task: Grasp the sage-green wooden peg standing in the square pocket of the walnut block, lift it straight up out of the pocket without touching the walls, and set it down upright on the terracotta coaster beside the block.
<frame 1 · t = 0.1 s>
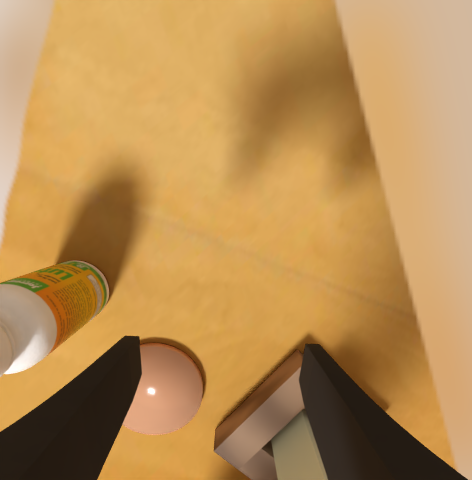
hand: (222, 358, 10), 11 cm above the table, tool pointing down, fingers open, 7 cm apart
peg: (311, 470, 19), in the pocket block
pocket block: (297, 425, 23), on the table
supplement bottle: (81, 288, 21), on the table
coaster: (155, 387, 22), on the table
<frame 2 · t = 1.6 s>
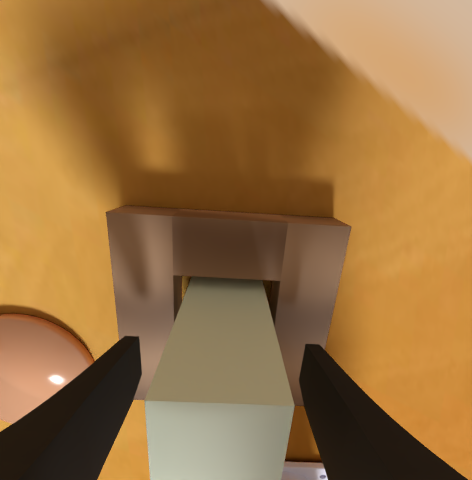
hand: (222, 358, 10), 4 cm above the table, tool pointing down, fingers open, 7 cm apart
peg: (223, 351, 11), in the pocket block
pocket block: (225, 302, 14), on the table
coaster: (30, 370, 16), on the table
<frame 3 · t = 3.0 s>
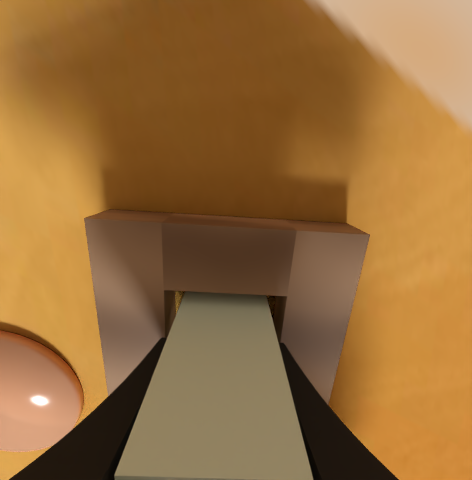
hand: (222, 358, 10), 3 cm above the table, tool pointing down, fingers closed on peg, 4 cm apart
peg: (220, 380, 9), in the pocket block, touching gripper
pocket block: (224, 317, 13), on the table
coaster: (8, 390, 14), on the table
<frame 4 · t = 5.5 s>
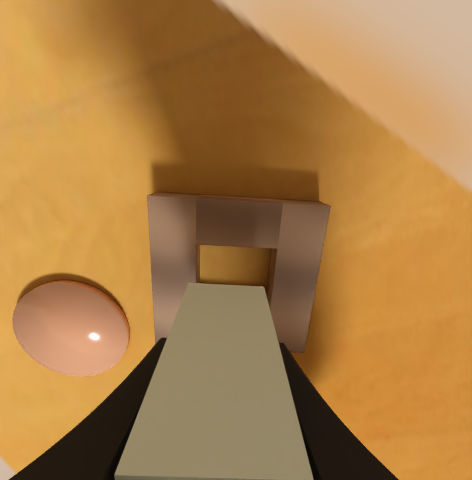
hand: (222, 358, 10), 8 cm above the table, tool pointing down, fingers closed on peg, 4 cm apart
peg: (221, 380, 9), point 10 cm above the table, touching gripper
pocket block: (234, 270, 18), on the table
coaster: (75, 328, 19), on the table
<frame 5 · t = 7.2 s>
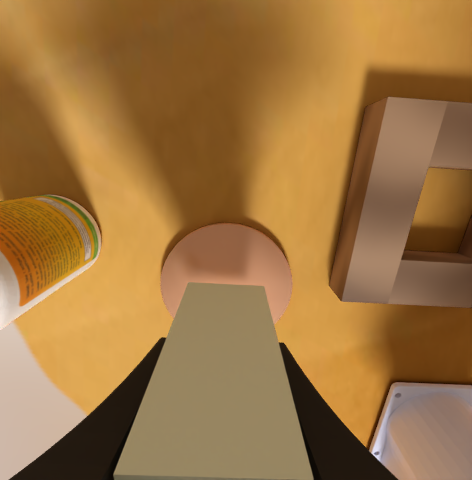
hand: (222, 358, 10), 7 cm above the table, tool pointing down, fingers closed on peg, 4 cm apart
peg: (220, 379, 9), point 8 cm above the table, touching gripper
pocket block: (431, 212, 15), on the table
supplement bottle: (64, 234, 16), on the table
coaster: (226, 284, 17), on the table
when the fingers open (5 cm above the table, at t = 8.4 s): peg drops 1 cm, resting on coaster.
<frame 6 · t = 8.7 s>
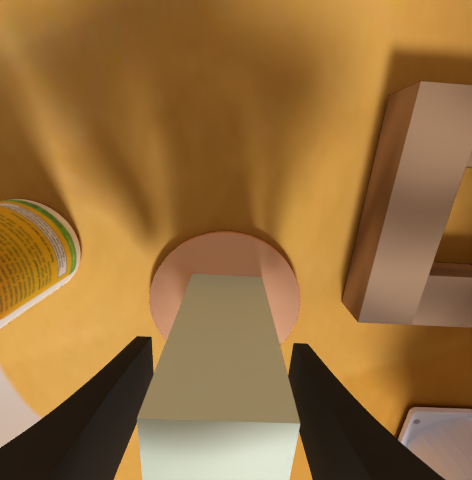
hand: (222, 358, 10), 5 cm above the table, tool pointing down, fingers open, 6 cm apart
peg: (222, 357, 10), on the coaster, point 5 cm above the table
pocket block: (461, 218, 13), on the table
supplement bottle: (38, 243, 13), on the table
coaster: (225, 300, 14), on the table
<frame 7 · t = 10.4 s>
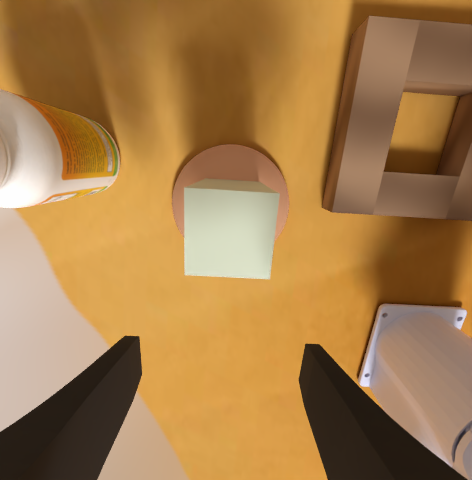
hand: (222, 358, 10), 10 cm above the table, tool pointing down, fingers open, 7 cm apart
peg: (230, 217, 14), on the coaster, point 5 cm above the table
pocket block: (411, 135, 17), on the table
supplement bottle: (87, 156, 18), on the table
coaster: (230, 205, 19), on the table
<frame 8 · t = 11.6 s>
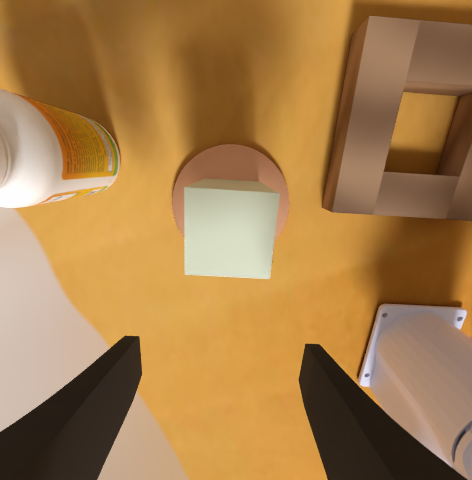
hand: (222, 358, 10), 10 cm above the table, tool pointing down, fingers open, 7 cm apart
peg: (230, 217, 14), on the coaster, point 5 cm above the table
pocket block: (412, 135, 17), on the table
supplement bottle: (87, 156, 18), on the table
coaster: (230, 205, 19), on the table
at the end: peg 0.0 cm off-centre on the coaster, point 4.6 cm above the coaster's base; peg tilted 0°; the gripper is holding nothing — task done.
